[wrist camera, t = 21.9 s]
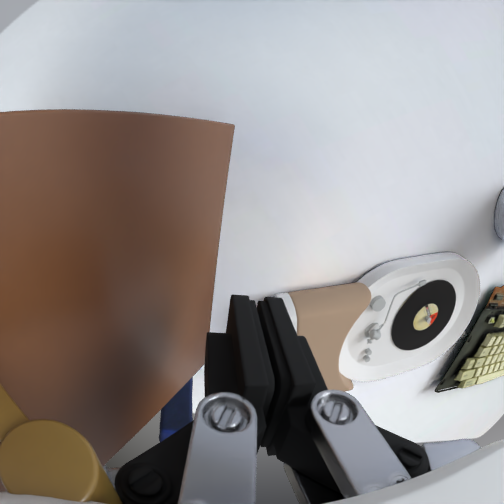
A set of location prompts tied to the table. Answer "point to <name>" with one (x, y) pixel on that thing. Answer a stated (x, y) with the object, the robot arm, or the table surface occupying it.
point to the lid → (100, 284)
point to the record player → (386, 317)
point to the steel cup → (500, 216)
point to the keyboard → (480, 349)
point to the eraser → (176, 412)
